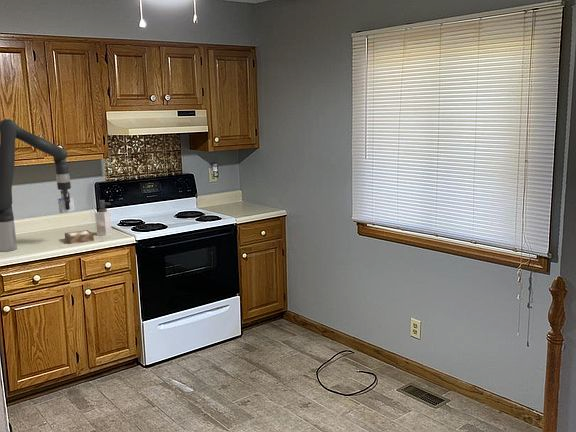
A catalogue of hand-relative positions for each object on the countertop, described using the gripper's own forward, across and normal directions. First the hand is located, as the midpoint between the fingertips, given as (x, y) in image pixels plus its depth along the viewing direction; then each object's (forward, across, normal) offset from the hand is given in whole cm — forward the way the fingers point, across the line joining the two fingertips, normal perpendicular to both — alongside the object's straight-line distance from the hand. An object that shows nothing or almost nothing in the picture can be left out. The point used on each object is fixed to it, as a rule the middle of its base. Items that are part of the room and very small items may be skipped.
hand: (66, 208), depth 350 cm
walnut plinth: (+20, 0, +5) cm, 21 cm away
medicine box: (+2, 0, 0) cm, 2 cm away
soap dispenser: (+21, -6, +23) cm, 32 cm away
